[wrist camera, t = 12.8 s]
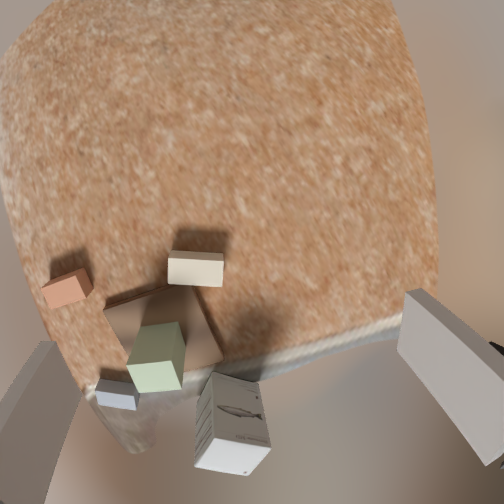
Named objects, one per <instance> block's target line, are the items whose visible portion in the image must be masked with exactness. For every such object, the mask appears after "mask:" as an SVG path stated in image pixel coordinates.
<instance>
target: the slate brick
mask: <svg viewBox="0 0 504 504" xmlns="http://www.w3.org/2000/svg"><path fill="white" fill-rule="evenodd" d="M95 393H96V397H97V401H98V404H99V405H103V406H110V407H116V408H123V409H130V410H137V406H138V401H139V392H138V390H137V388H136V386H135V384H134V383H127V382H120V381H112V380H106V379H99V381H98V384H97V386H96V389H95Z"/></svg>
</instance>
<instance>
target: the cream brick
mask: <svg viewBox="0 0 504 504" xmlns="http://www.w3.org/2000/svg"><path fill="white" fill-rule="evenodd" d="M223 267H224V257H223V253H209V252H193V251H176V250H171V252H170V255H169V257H168V284H179V285H195V286H213V287H222V281H223Z"/></svg>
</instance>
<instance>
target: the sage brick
mask: <svg viewBox="0 0 504 504" xmlns="http://www.w3.org/2000/svg"><path fill="white" fill-rule="evenodd" d="M185 352H186V346H185V343H184V340H183V336H182V333H181V330H180V326H179V323H178V322H171V323H164V324H158V325H150V326H143V327H140V329H139V331H138V334H137V337H136V339H135V342H134V345H133V348H132V350H131V353H130V356H129V359H128V361H127V364H126V366H127V368H128V371H129V373H130V375H131V377H132V379H133V382H134V384H135V386H136V388H137V390H138V392H139V393H146V392H158V391H168V390H178V389H182V382H183V371H184V362H185Z"/></svg>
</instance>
